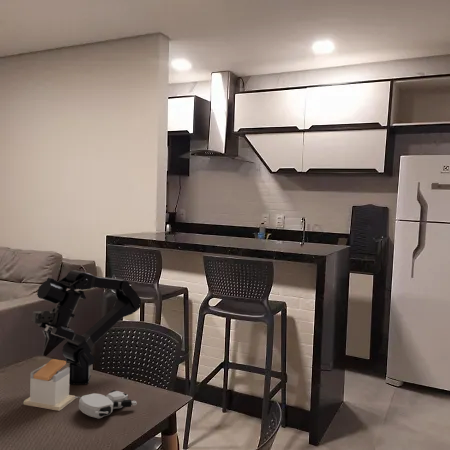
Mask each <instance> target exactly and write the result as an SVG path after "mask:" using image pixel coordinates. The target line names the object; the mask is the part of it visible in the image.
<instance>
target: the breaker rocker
mask: <svg viewBox="0 0 450 450" xmlns="http://www.w3.org/2000/svg"><path fill="white" fill-rule="evenodd" d="M45 364H46V365H45ZM45 364H44V365H45V366H44V367H42V368H41V369H40V370H39V371H38V372H37V373H35V374H34V375H33V376H34V378H35V379H41V380H47V381H48V380H49V379H50V378H52V377H53V376H54V375H55V374H57V373H59V372H60V371H61V369H62V368H63V367H64V366H65V365H67V360H61V359H55V358H52V359H50V360H49V361H48V362H47V363H45Z"/></svg>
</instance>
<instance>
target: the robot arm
mask: <svg viewBox="0 0 450 450" xmlns="http://www.w3.org/2000/svg"><path fill="white" fill-rule="evenodd" d="M94 288H96V289H97V288H98V289H109V290H114V296H115V298H116V300H115V302H114V305H113V307H112V309H110V310H109V311H108V312H107V313H106V314H105V315H104V316H102V317H101V318H100V319H99V320H98V321H97V322H95V324H93V325H92V326H91V327H90V328H89V329H87V331H86V332H84V333H83V334H79V333H76V332H75V330H73V329H71V328H70V326H69V324H70V322H71V319H72V318H75V315H76V314H74V312H75V310H76V308H77V306H78V303H79V300H80V299H82V300H86V299H87V297H86V295H85V290H91V289H94ZM36 295H37V298H38V299H41V300H44V301H46V302H49V303H52V304H54V305H55V304H56V306H55V307H52V308H51V310H48V309H47V310H42V311H40V310H38V311H32V316H31V317H32V318H31V322H32V323H34V324H35V325H36V324H37V325H36V326H37V327H39V328H41V331H42V333H43V335H44V341H43V347H42V354H41V355H42V356H44V357H47V356H48V355H50V353H51V352H52V351H53V350H55V348H56V347H58V346H59V345H60V344H61V343H62V342H63V341H65V343H64V345H63V346H62V355H63V357H64V358H65V361H66V362H69V366H68V367H70V377H69V385H88V384H89V382H90V380H91V376H92V375H91V365H94V363H95V360H96V357H95V355H93V354H92V351H93V348H94V345H95V344H96V343H97V342H99V340H100V339H101V338H102V337H104V335H106V334H107V333H108V332H109V331H110V330H111V329H112V328H113V327H115V325H116V324H117V323H119V321H121V320H122V319H123V318H124V317H127V316H129V315H132V314H134V313H136V312H137V311H139V309H140V308H141V306H142V299H141V297H140V296H139V295H138V293H137V292H136V291H135V289H134V288H133V287H132V286H131V284H130V283H129V281H127V279H123V278H112V277H103V276H96V275H94V274H92V273H88V272H85V271H81V270H75V269H74V270H73V269H72V270H70V271H69V272H68V273H67V275H65V276H64V277H62V278H61V279H59V280H58V281H57V280H56V279H55V278H51V277H47V279H46V280H45V281H44V282H42V283H41V284H40V286H39V287H38V289H37V294H36ZM42 328H43V329H42ZM66 339H67V340H66Z"/></svg>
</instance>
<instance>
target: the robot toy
mask: <svg viewBox="0 0 450 450" xmlns="http://www.w3.org/2000/svg"><path fill="white" fill-rule="evenodd" d="M74 398H75V399H79V400H78V409H79V410H80V412H82V413H83V414H85V415H87V416H88V417H92V418H95V419H98V420H99V419H102V418H103V417H106V416H109V415H111V413H113V410H115V409H117V410H118V409H122V408H131V407H132V406H137V404H138V403H137V401H136V400H131V399H129V394H127V393H125V392H122V391H119V390H116V389H113V390H111V391H109V392H108V393H107V394H106V395H104V394H101V393H90V394H85V395H82V396H81V397H80V396H75V397H74Z"/></svg>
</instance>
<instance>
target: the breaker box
mask: <svg viewBox="0 0 450 450" xmlns="http://www.w3.org/2000/svg"><path fill="white" fill-rule="evenodd" d="M46 364H47V363H45V364H43V365H41V366H39V367H37V368H36V369H34V370H31V372H30V385H29V386H30V389H29V390H30V391H29V397H28V398H26V399H25V400H24V401H23V405H24V406H29V407H37V408H42V409H48V410H53V411H59V412H60V411H61V410H63V409H64V408H65V407H66V406H68V405H69V404H70V403H71V402H73V401H74V400H75V399H76V398H74V397H76V395H72V394H70V384H69V377H70V367H69V366H67V367H65V368H63V369H62V370H59V373H57V374H55V375H54V376H53V377H52V378H50V379H49V380H48V381H47V380H41V379H35V378H34V376H33V375H34V374H35V373H37V372H38V371H39V370H40V369H41V368H42V367H44V366H45V365H46Z"/></svg>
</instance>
